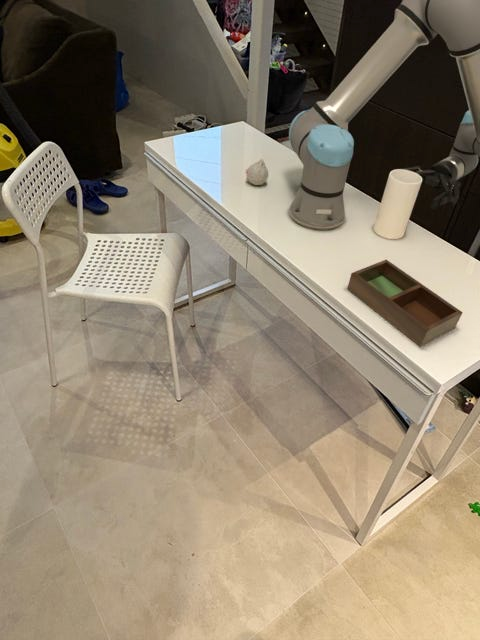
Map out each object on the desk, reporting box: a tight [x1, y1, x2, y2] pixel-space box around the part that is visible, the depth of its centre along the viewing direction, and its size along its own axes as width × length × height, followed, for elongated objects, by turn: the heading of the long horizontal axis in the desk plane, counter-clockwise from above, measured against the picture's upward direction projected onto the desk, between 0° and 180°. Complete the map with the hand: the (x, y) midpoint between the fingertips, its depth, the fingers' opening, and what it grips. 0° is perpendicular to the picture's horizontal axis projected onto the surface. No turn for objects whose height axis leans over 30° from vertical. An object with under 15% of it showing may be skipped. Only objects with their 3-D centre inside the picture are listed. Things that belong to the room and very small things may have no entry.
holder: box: [347, 259, 464, 348], centre depth 108 cm, size 11×22×5 cm, turn 34°
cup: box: [373, 168, 423, 240], centre depth 129 cm, size 8×8×16 cm
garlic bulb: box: [244, 158, 269, 186], centre depth 147 cm, size 6×7×8 cm
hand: (409, 194), depth 132 cm, fingers open, 13 cm apart
